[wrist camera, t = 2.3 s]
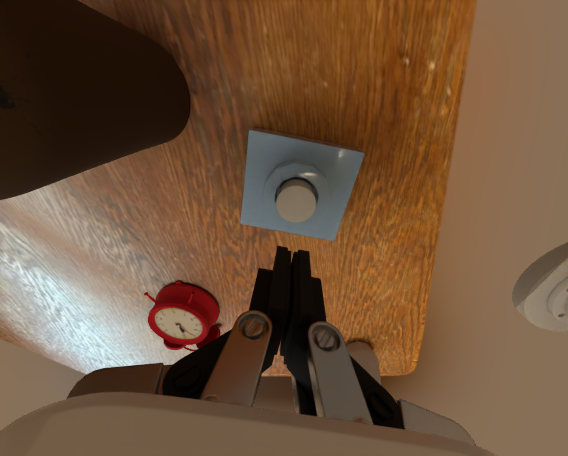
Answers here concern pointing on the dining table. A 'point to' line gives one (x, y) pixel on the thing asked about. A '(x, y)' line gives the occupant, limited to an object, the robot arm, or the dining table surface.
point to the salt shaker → (365, 358)
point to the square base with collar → (298, 165)
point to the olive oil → (79, 92)
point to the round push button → (296, 200)
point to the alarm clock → (184, 316)
